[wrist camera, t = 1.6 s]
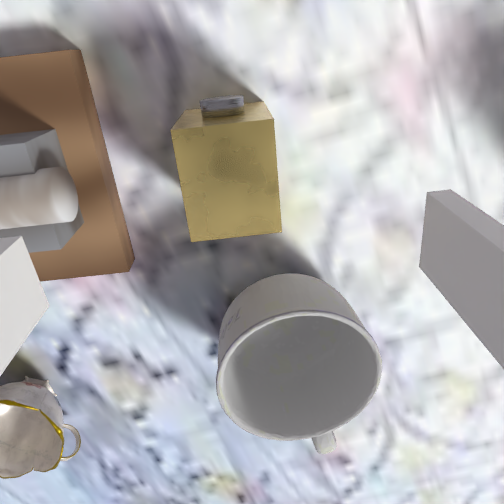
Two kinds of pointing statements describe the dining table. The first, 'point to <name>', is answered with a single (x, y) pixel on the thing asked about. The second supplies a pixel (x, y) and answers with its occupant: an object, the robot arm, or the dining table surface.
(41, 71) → the rig
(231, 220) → the block
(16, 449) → the chinaware
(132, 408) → the dining table surface
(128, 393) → the dining table surface
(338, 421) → the teacup
